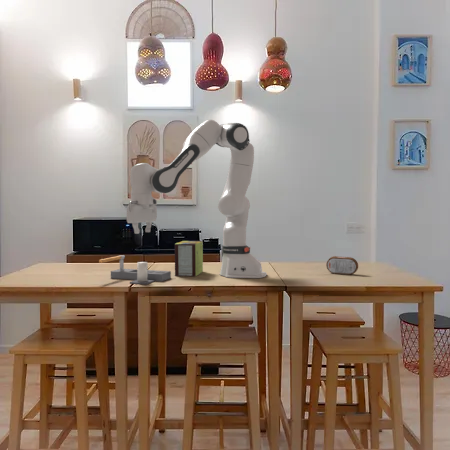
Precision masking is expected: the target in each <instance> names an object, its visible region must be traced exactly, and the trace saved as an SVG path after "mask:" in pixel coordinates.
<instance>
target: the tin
mask: <svg viewBox="0 0 450 450" xmlns="http://www.w3.org/2000/svg"><path fill="white" fill-rule="evenodd" d="M326 269H327V271H328V272H329V273H331V274H334V273H335V275H348V276H351V275H354V274H355V273H356V272H357V271H358V269H359V263H358V261H357V260H356V259H355V258H353V257H351V256H338V255H337V256H336V255H334V256H331V257H329V258H328V259H327V261H326Z"/></svg>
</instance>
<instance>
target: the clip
mask: <svg viewBox="0 0 450 450" xmlns="http://www.w3.org/2000/svg"><path fill="white" fill-rule="evenodd" d="M125 257H126V256H125V255H124V254H123V255H117V256H111V257H107V258H101V259H98V263H99V264H100V263H101V264H102V263H108V262H111V261H112V262H113V261H118V260H120V259H126V258H125Z"/></svg>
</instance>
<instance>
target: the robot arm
mask: <svg viewBox="0 0 450 450" xmlns="http://www.w3.org/2000/svg"><path fill="white" fill-rule="evenodd" d="M250 141H251V140H250V133H249V130H248V127H247V126H246V125H244V124H242V123H239V122H228V123H224V124H219V122H217V121H215V120H213V119H207V120H204V121H203V122H202V123H200V124H199V125H198V126H197V127H195V129H193V130H192V132H191V133H190V134H188V135H187V137H186V139H185V140H184V142H183V143H182V149H181V151H180V153H179V154H178V155H177V156H176V157H175V159H173V161H171V163H170V164H169V165H167V166H165V167H163V168H160V169H159V168H156V167H154V166H152V165H150V163H148V162H141V163H137V164H134V165H133V166H132V167H131V169H130V172H129V173H130V175H129V176H130V178H129V181H130V182H129V183H130V187H131V191H130V201H129V203H128V205H127V208H126V222H127V224H132V228H133V232H134V233H133V234H136V235H137V234H140V232H141V229H140V228H139V223H145V224H146V227H145V230H144V231H145V233H151V228H152V224H153V223H152V222H156V220H157V215H158V213H157V212H158V211H157V205H158V201H157V199H156V198H155V197H154V196H152V195H153V194H152V192H154V193H157V194H158V193H159V194H168V193H171V192H172V191H173V190H175V188H176V186H177V184H178V182H179V179H180V176H181V175H182V174H184V172H185V171H186V170H187V169H188V168H189V166H190V165H192V163H193V162H195V161H197V160H199V159H201V158H202V157H204V156H205V155H206V154H207V153H208V152H209V151H210V150H211V149H212V148H213V147H214V146H215V145H217V146H219V147H221V148H228V149H229V150H230V161H229V166H228V171H227V172H228V173H227V177H226V181H225V185H224V187H223V191H222V194H221V196H220V198H219V200H218V202H217V209H218V210H219V212H220V213H221V214H222V215H223V216H225V222H224V226H223V229H222V246H221V255H222V261H221V268H220V272H219V276H223V277H226V278H231V279H232V278H233V279H234V278H235V279H240V278H241V279H243V278H244V279H245V278H246V279H261V278H265V277H267V272H266V271H263V267H262V263H261V261H260V260H259V259H257V258H256V257H255V256H254V255H253V254H251V246H248V245H247V225H248V218H249V210H250V207H251V205H250V200H249V199H248V197H246V194H247V191H248V188H249V185H250V183H251V180H252V174H253V173H252V172H253V168H254V160H255V147H254V145H253V144H252V142H251V143H250Z"/></svg>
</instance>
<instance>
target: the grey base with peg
mask: <svg viewBox="0 0 450 450" xmlns="http://www.w3.org/2000/svg"><path fill="white" fill-rule="evenodd" d="M124 259H125V258H124ZM124 259H119V269H115V270H111V271H110V279H116V280H117V279H118V280H129V281H130V280H132V281H135V280H137V269H136V268H135V269H134V268H125V267H124V264H125V263H124ZM171 278H172V272H171V271H170V270H155V269H154V270H153V269H148V278H147V280H155V282H160V283H161V282H164V281H167V280H169V279H171Z"/></svg>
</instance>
